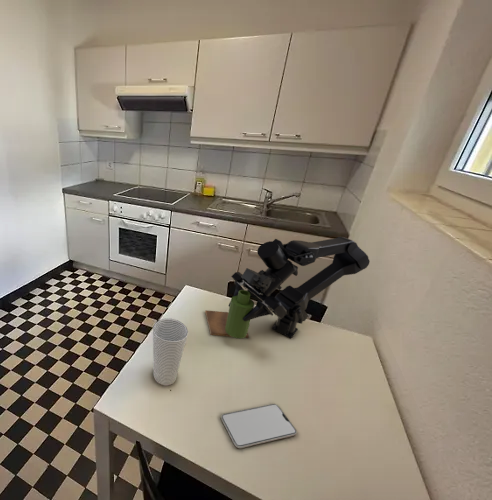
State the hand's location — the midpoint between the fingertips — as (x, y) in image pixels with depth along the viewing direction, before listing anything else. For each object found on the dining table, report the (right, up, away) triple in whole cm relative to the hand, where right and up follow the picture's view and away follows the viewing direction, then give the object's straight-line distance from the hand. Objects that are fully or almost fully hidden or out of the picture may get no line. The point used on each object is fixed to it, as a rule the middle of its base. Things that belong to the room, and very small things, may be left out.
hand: (236, 313), depth 83 cm
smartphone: (-2, -21, -20) cm, 29 cm away
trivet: (0, -7, +12) cm, 14 cm away
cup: (-22, -15, -9) cm, 28 cm away
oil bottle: (+1, -6, +3) cm, 7 cm away
